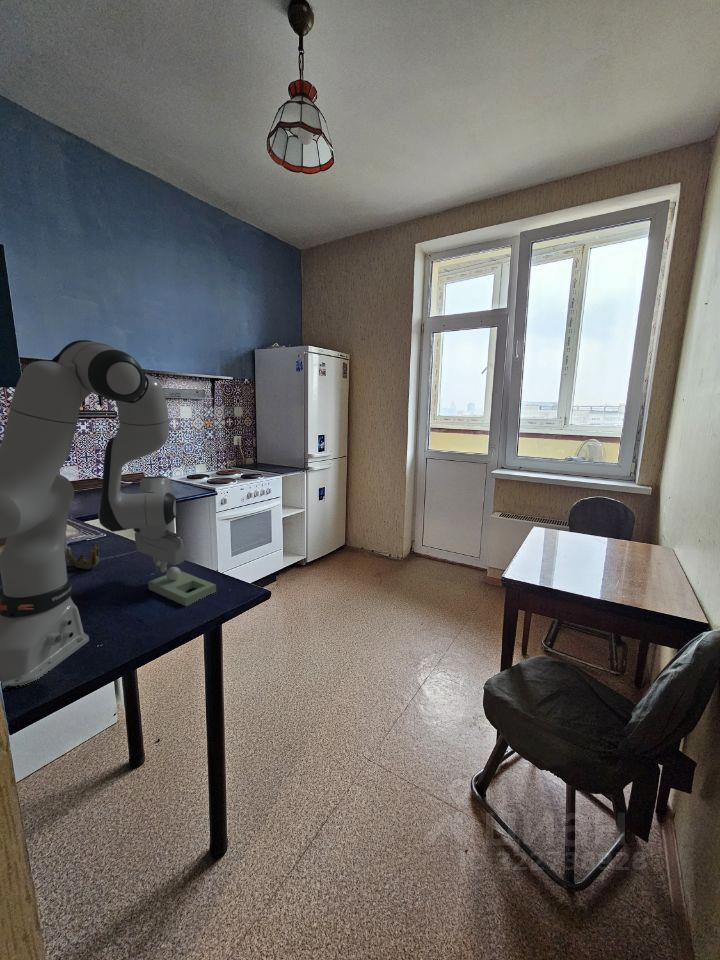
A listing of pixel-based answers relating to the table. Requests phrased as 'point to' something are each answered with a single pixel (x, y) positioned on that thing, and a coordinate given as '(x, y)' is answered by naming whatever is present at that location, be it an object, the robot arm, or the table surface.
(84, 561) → the jawbone
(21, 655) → the robot arm
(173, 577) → the ball
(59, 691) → the table surface
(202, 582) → the putting board
